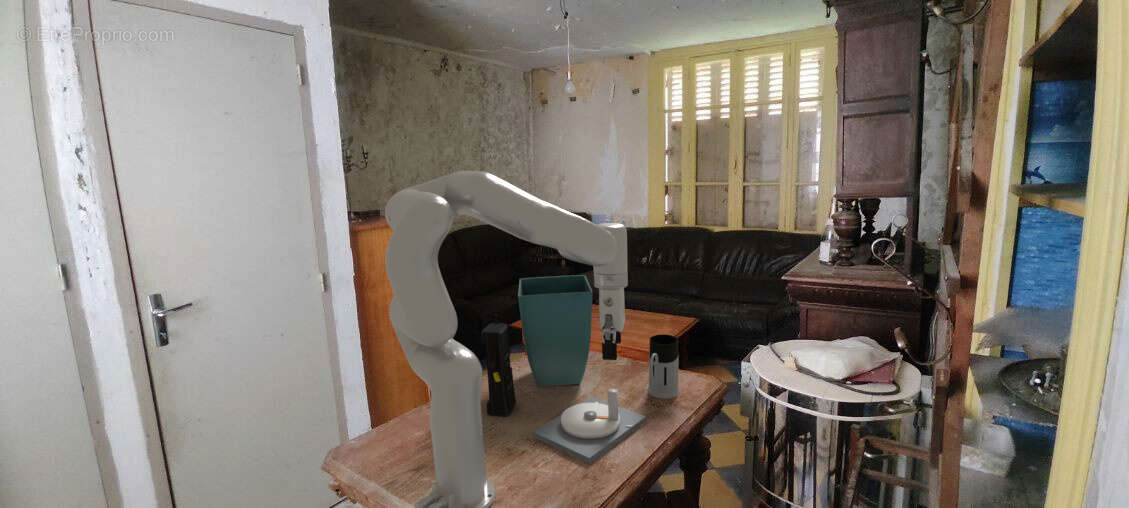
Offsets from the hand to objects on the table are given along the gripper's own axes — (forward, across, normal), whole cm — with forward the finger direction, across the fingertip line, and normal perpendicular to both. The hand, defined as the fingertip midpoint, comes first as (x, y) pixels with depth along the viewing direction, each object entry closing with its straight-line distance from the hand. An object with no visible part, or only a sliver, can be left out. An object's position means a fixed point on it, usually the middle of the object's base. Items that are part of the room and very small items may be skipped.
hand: (612, 350), depth 120 cm
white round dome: (+18, 0, +5) cm, 19 cm away
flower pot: (+20, +28, +19) cm, 39 cm away
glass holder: (+20, +19, -11) cm, 30 cm away
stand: (+20, 0, +6) cm, 21 cm away
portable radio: (+20, +6, +30) cm, 37 cm away
